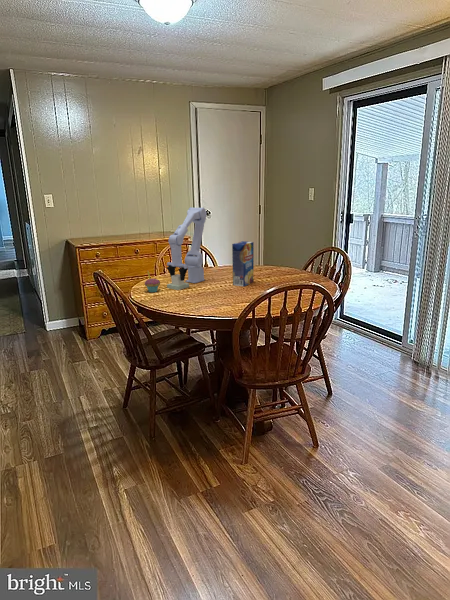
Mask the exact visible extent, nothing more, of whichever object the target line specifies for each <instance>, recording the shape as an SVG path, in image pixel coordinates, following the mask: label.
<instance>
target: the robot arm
mask: <svg viewBox="0 0 450 600" xmlns="http://www.w3.org/2000/svg"><path fill="white" fill-rule="evenodd" d="M207 214H208V213H207V210H206V209H205V207H191V206H190V207H189V208H188V210H186V216H185V218H184V220H183V222H182V224H179V225H178V226H177V228H176V229H175V231H174V232H173V234H170V235H169V237H168V244H169V247H170V254H171V255H170V256H171V262H170V261H168V262H166V269H167V271H168V273H169V275H170V279H171V280H172V278H171V276H173V275H176V268H178V272H179V274H180V278H181V281H183V280H184V281H185V283H193V284H197V283H200V282H204V281H206V279H205V274H204V273H205V272H204V267H203V258H204V257H203V254H202V253H201V252H200V251H201V246H202V245H201V244H202V239H203V233H204V227H205V224H206V218H207ZM192 223H194V230H193V236H192V242H191V247H190V250H189V251H187V253H186V255H185V257H184V263H183V256H182V253H183V252H182V245H183V244H184V238H185V236H186V234H187V233H188V231H189V230H188V228H189V227H190V225H191V224H192ZM186 273H187V275H188V276H187V277H188V279H187V280H185V279H186V278H185V277H186Z"/></svg>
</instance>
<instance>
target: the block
mask: <svg viewBox="0 0 450 600" xmlns="http://www.w3.org/2000/svg"><path fill="white" fill-rule="evenodd" d="M171 278H172V279H171ZM170 279H171V283H172V284H173V285H181V284H184V283H185V279H184V280H183V281H181V278H180V273H178V274H176V273H175V275H173V276H170Z"/></svg>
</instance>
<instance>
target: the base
mask: <svg viewBox="0 0 450 600" xmlns="http://www.w3.org/2000/svg"><path fill="white" fill-rule="evenodd" d="M189 287H190V282H184V284H181V285H173V284H172V282H170V283H167V284H166V288H167V289H172V290H175V291H181V290H183V289H187V288H189Z"/></svg>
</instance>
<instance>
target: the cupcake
mask: <svg viewBox="0 0 450 600" xmlns="http://www.w3.org/2000/svg"><path fill="white" fill-rule="evenodd" d="M147 275H148V279H146V281H144V286H145V287H146V288H147V291H148V292H149V293H157V292H158V290H159V286H160V285H161V281H160V280H159V279H157V278H151V276H150V275H151V274H150V272H149V270H147Z"/></svg>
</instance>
